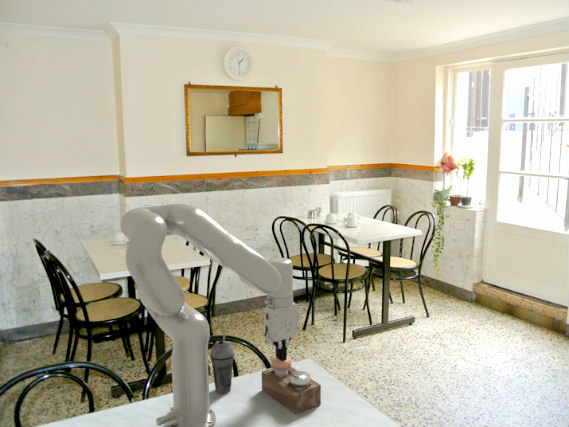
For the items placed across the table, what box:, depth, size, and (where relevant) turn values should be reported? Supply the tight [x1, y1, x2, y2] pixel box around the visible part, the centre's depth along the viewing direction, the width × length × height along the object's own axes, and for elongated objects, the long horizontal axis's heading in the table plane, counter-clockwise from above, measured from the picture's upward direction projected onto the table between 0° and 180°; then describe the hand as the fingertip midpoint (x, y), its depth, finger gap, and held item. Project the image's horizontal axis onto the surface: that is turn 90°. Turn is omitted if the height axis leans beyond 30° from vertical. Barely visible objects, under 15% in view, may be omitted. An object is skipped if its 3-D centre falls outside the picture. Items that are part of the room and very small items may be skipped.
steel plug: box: [289, 370, 311, 390], centre depth 142 cm, size 6×6×8 cm
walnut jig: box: [261, 366, 322, 416], centre depth 146 cm, size 9×17×6 cm, turn 36°
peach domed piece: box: [270, 354, 292, 378], centre depth 149 cm, size 6×6×8 cm
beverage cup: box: [209, 326, 235, 395], centre depth 149 cm, size 7×7×20 cm
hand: (281, 358), depth 148 cm, fingers closed
